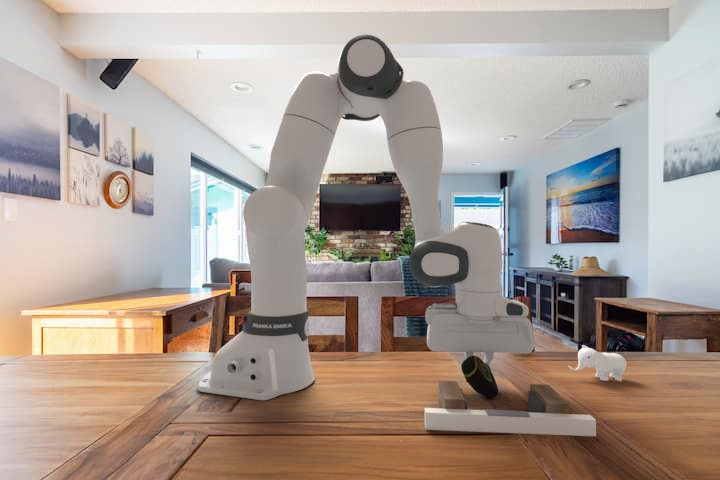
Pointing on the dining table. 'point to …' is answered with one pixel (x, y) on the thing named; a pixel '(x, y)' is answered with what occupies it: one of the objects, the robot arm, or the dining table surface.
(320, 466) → the dining table surface
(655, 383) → the dining table surface
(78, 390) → the dining table surface
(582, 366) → the elephant figurine
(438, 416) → the rail
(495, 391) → the tape measure
